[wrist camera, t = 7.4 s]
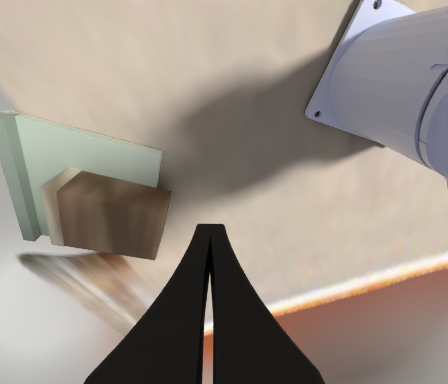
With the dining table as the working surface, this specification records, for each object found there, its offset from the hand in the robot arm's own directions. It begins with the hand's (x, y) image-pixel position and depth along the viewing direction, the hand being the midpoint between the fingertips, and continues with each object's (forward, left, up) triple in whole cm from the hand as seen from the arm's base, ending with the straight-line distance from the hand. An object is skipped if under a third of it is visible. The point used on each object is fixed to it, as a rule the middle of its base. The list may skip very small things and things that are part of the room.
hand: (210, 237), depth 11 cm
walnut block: (+3, +7, -7) cm, 11 cm away
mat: (+10, +7, -10) cm, 16 cm away
